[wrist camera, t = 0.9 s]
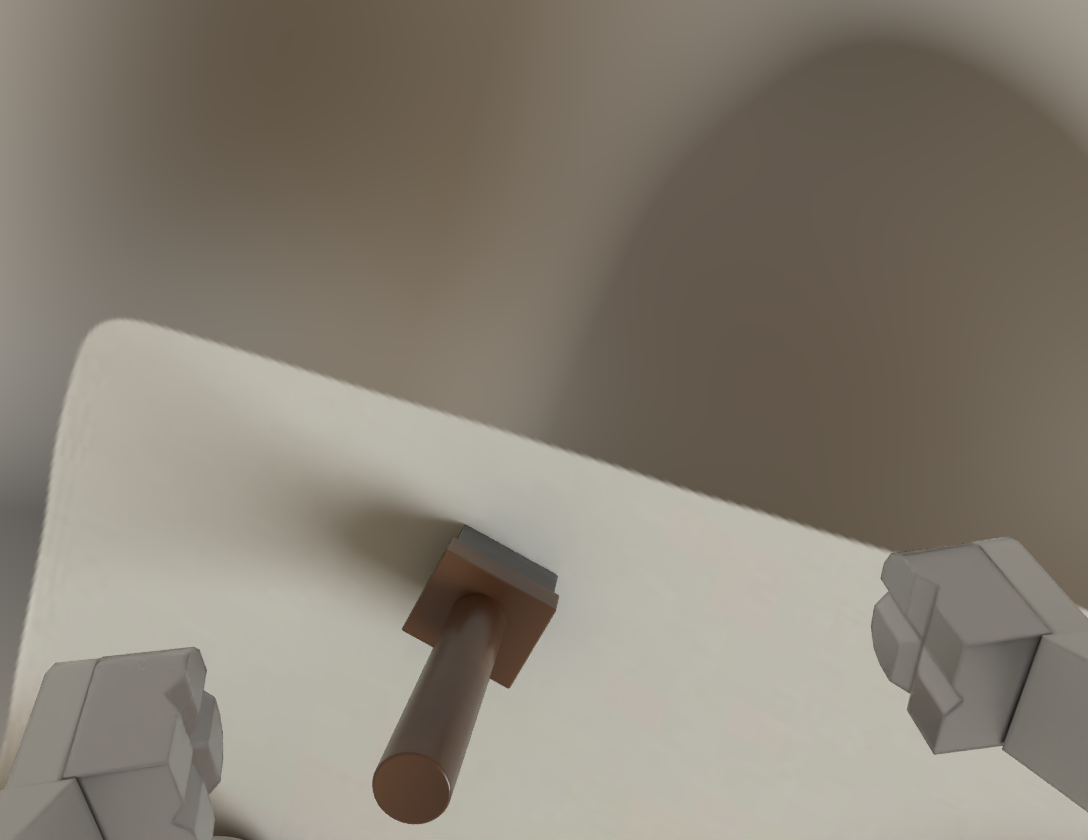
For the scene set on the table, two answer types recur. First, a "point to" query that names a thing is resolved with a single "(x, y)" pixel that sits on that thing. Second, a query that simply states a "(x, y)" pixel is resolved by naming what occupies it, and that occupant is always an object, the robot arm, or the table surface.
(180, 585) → the table surface
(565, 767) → the table surface
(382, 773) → the dish brush
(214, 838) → the pump dispenser
